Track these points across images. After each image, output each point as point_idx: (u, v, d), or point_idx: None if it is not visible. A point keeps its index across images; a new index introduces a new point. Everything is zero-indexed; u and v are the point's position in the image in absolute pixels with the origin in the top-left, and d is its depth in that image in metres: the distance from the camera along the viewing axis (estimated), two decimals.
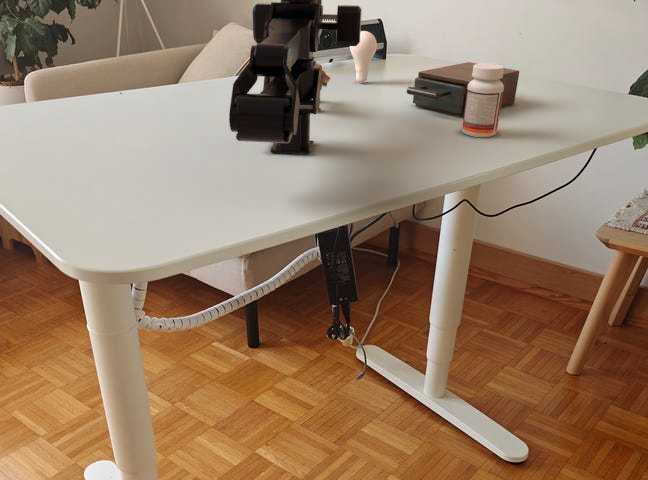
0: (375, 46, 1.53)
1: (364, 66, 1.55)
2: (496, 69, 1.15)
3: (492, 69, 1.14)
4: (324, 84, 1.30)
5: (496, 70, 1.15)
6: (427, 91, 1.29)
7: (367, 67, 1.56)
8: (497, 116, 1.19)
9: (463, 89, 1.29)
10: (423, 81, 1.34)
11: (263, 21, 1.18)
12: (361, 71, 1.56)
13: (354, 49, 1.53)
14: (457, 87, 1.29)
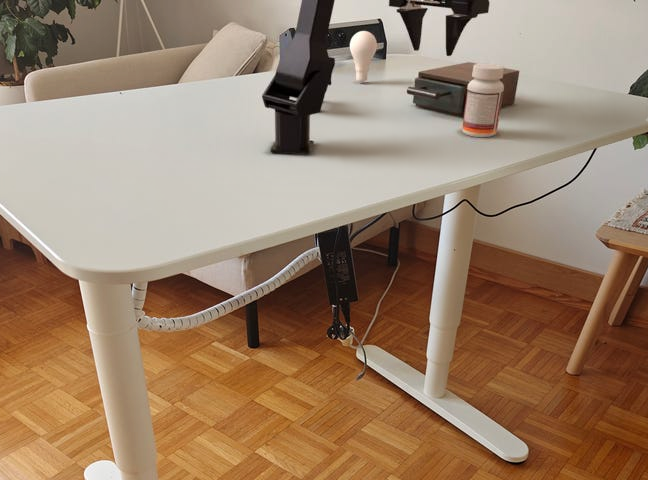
0: (375, 46, 1.53)
1: (364, 66, 1.55)
2: (496, 69, 1.15)
3: (492, 69, 1.14)
4: None
5: (496, 70, 1.15)
6: (427, 91, 1.29)
7: (367, 67, 1.56)
8: (497, 116, 1.19)
9: (463, 89, 1.29)
10: (423, 81, 1.34)
11: None
12: (361, 71, 1.56)
13: (354, 49, 1.53)
14: (457, 87, 1.29)
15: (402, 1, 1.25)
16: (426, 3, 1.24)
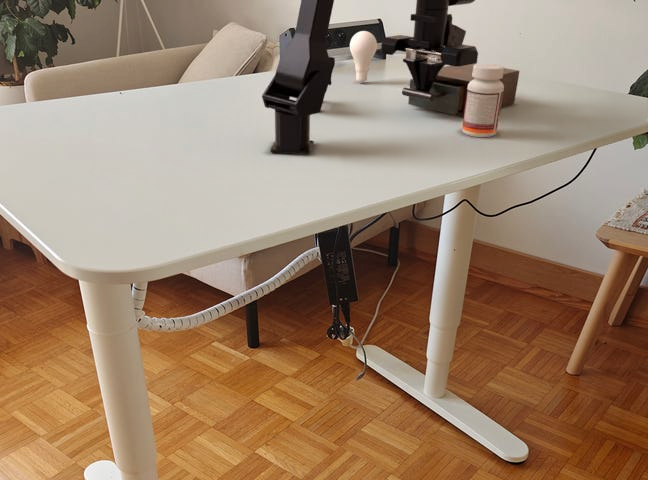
0: (375, 46, 1.53)
1: (364, 66, 1.55)
2: (496, 69, 1.15)
3: (492, 69, 1.14)
4: None
5: (496, 70, 1.15)
6: (422, 92, 1.28)
7: (367, 67, 1.56)
8: (497, 116, 1.19)
9: (458, 90, 1.28)
10: None
11: (400, 36, 1.30)
12: (361, 71, 1.56)
13: (354, 49, 1.53)
14: (452, 88, 1.28)
15: (394, 49, 1.28)
16: (432, 54, 1.25)
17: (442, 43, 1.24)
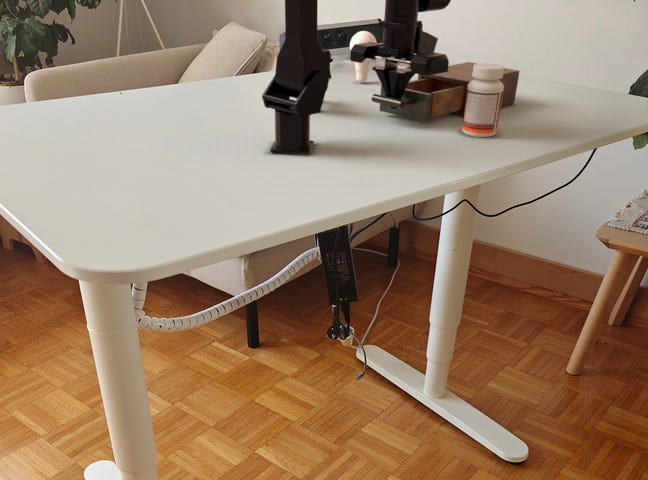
0: None
1: (364, 66, 1.55)
2: (496, 69, 1.15)
3: (492, 69, 1.14)
4: None
5: (496, 70, 1.15)
6: (392, 99, 1.23)
7: (367, 67, 1.56)
8: (497, 116, 1.19)
9: (430, 97, 1.23)
10: None
11: (370, 43, 1.26)
12: (361, 71, 1.56)
13: None
14: (423, 95, 1.23)
15: (363, 57, 1.24)
16: (402, 62, 1.21)
17: (412, 51, 1.20)
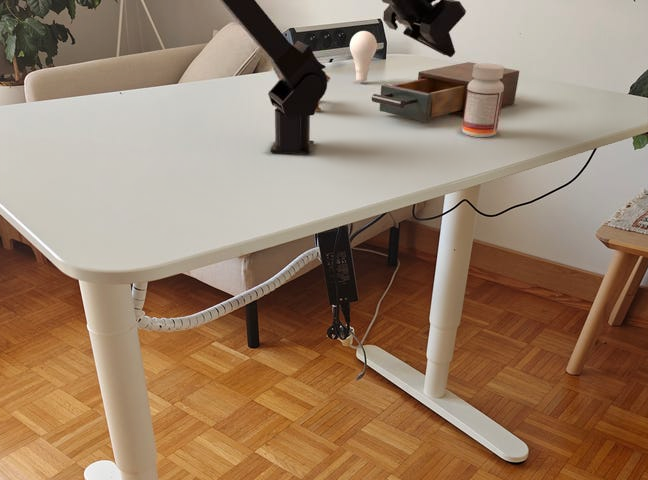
0: (375, 46, 1.53)
1: (364, 66, 1.55)
2: (496, 69, 1.15)
3: (492, 69, 1.14)
4: None
5: (496, 70, 1.15)
6: (392, 99, 1.23)
7: (367, 67, 1.56)
8: (497, 116, 1.19)
9: (430, 97, 1.23)
10: (389, 88, 1.29)
11: None
12: (361, 71, 1.56)
13: (354, 49, 1.53)
14: (423, 95, 1.23)
15: (393, 25, 1.14)
16: (422, 19, 1.08)
17: (425, 6, 1.05)
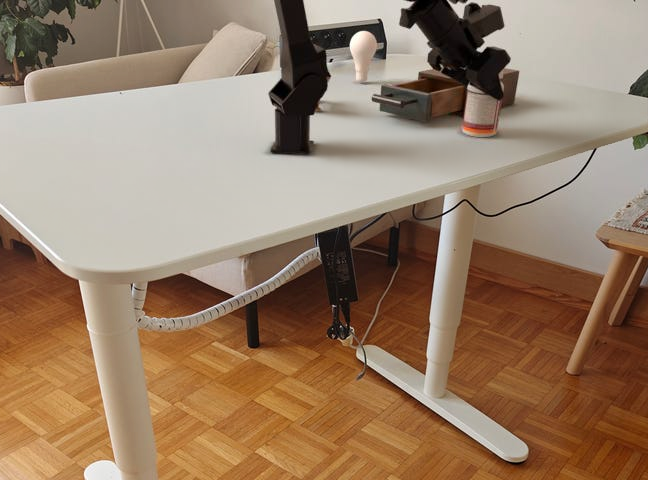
0: (375, 46, 1.53)
1: (364, 66, 1.55)
2: None
3: None
4: None
5: None
6: (392, 99, 1.23)
7: (367, 67, 1.56)
8: (497, 116, 1.19)
9: (430, 97, 1.23)
10: (389, 88, 1.29)
11: None
12: (361, 71, 1.56)
13: (354, 49, 1.53)
14: (423, 95, 1.23)
15: (437, 67, 1.20)
16: None
17: (471, 52, 1.11)
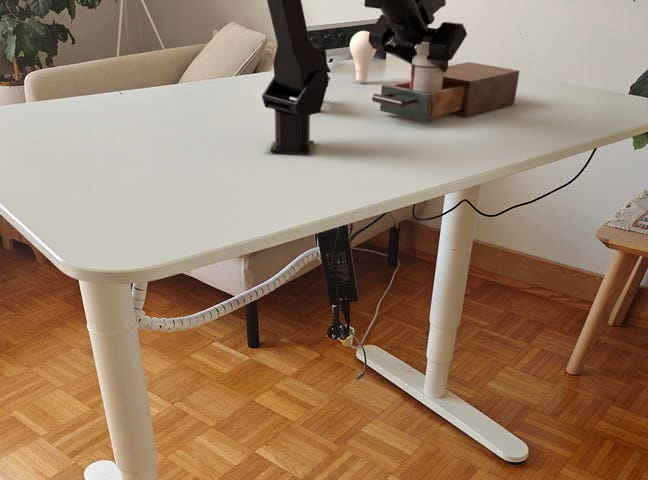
0: None
1: (364, 66, 1.55)
2: None
3: None
4: None
5: None
6: (392, 99, 1.23)
7: (367, 67, 1.56)
8: (441, 87, 1.29)
9: (430, 97, 1.24)
10: (390, 88, 1.29)
11: (382, 22, 1.26)
12: (361, 71, 1.56)
13: (354, 49, 1.53)
14: (424, 94, 1.24)
15: (383, 46, 1.26)
16: None
17: (425, 28, 1.20)
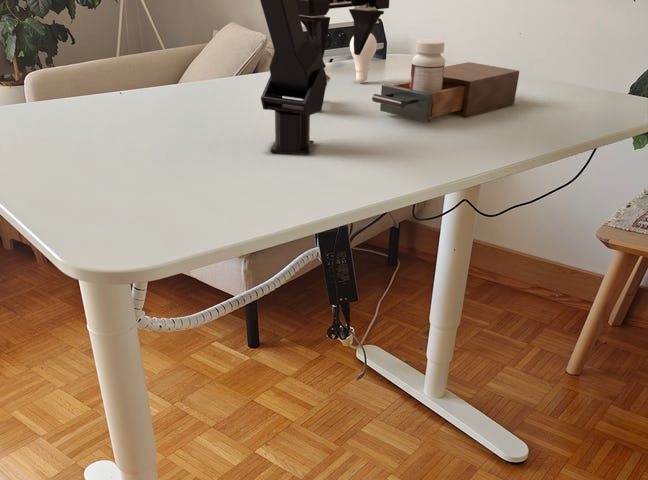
0: (375, 46, 1.53)
1: (364, 66, 1.55)
2: (441, 43, 1.24)
3: (438, 44, 1.24)
4: None
5: (441, 44, 1.24)
6: (393, 99, 1.23)
7: (367, 67, 1.56)
8: (441, 87, 1.29)
9: (430, 97, 1.24)
10: (390, 88, 1.29)
11: None
12: (361, 71, 1.56)
13: None
14: (424, 94, 1.24)
15: (328, 7, 1.09)
16: (329, 6, 1.12)
17: None
